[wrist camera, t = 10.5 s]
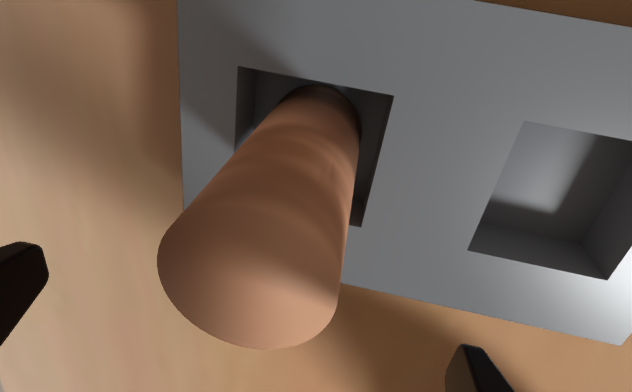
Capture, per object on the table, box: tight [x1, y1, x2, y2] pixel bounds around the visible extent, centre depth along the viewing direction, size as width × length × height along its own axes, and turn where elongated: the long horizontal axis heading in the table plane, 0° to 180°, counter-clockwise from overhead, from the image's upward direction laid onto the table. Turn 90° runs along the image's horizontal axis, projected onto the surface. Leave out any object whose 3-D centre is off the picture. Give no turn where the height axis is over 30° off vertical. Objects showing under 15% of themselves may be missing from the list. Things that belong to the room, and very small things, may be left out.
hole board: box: [177, 0, 632, 346], centre depth 16 cm, size 12×20×4 cm, turn 82°
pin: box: [157, 85, 362, 349], centre depth 13 cm, size 4×4×10 cm
